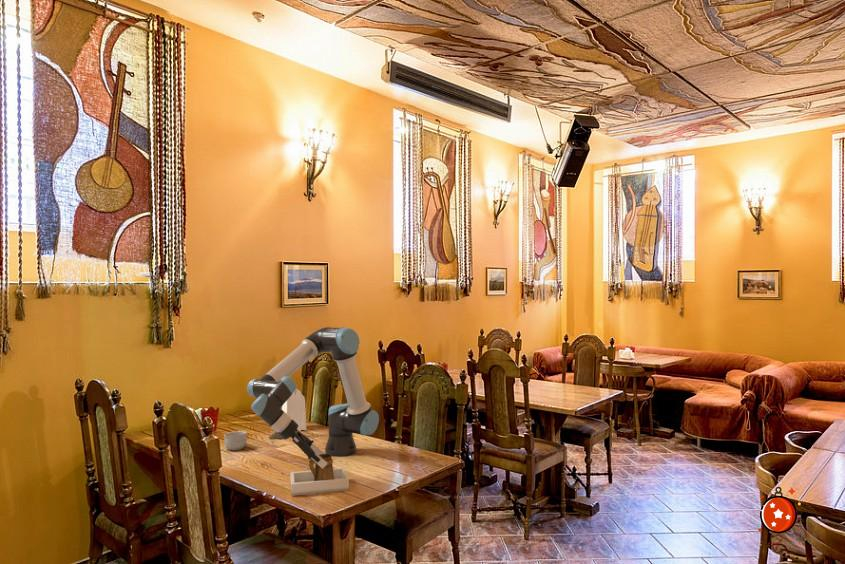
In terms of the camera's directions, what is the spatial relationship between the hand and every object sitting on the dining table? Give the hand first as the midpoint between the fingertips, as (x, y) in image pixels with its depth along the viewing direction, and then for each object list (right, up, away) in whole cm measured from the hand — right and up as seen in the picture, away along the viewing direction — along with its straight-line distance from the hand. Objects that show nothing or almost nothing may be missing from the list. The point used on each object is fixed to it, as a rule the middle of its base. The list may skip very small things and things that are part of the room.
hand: (323, 461), depth 224 cm
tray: (-2, -10, -1) cm, 10 cm away
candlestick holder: (-39, -13, +78) cm, 89 cm away
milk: (-35, -13, +97) cm, 104 cm away
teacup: (-54, -12, +58) cm, 80 cm away
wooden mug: (-2, -9, -1) cm, 10 cm away
